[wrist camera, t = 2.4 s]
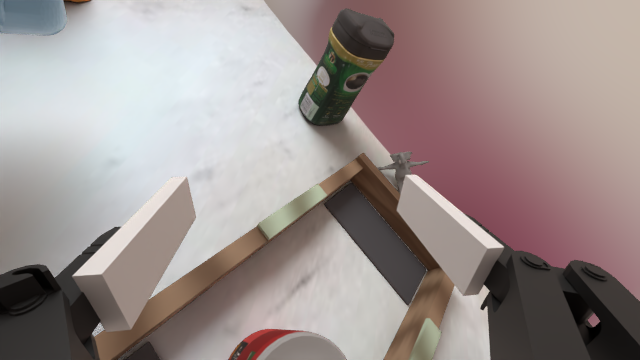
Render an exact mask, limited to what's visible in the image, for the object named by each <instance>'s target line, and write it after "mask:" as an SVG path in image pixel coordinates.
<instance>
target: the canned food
mask: <svg viewBox="0 0 640 360" xmlns="http://www.w3.org/2000/svg"><path fill="white" fill-rule="evenodd" d="M228 360H347V359H346V357H345V355H344V354H343V353H342V352H341V350H340V349H339V348H338V347H337V346H336V345H335V344H334V343H333V342H331V341H330V340H329V339H327V338H325V337H323V336H321V335H319V334H316V333H312V332H306V331H296V330H279V329H265V330H260V331H258V332H255V333H253V334H251V335H250V336H248V337H247V338H245V339H244V340H243V341H242V342H241V343H240V344H239V345H238V346H237V347H236V348H235V350H234V351H233V353H232V354H231V356H230V358H229V359H228Z"/></svg>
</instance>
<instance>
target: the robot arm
mask: <svg viewBox="0 0 640 360" xmlns="http://www.w3.org/2000/svg"><path fill="white" fill-rule="evenodd" d="M66 22H67V16H66V10H65V6H64V2H63V0H0V33H10V34H28V35H54V34H57V33H58V32H60V31H61V30H62V29H64V27H65V25H66ZM397 212H398V213H399V214H400V215H401V217H402V218H403V219H404V221H405V222H406V223H407V224H408V226H409V227H410V228H411V230H412V231H413V232H414V233H415V235H416V236H417V237H418V239H419V240H420V241H421V242H422V244H423V245H424V246H425V248H426V249H427V250H428V251H429V253H430V254H431V255H432V257H433V258H434V259H435V260H436V262H437V263H438V264H439V265H440V267H441V268H442V269H443V271H444V272H445V273H446V274H447V276H448V277H449V278H450V280H451V281H452V282H453V283H454V285H455V286H456V287H457V289H458V290H459V291H460V292H461V294H462V295H463V296H466V295H476V294H479V292H480V290H481V289H482V287H483V285H485V286H486V287H487V288H488V289H489V290H490V292H489V293H488V295H487V297H486V298H485V300H484V302H483V304H482V305H481V308H480V309H482V310H484V308H485V307H486V306H488V323H489V340H490V357H491V360H640V301H639V300H638V299H636V298H635V297H634V296H633V295H632V294H631V293H630V292H629V291H628V290H627V289H626V288H625V287H624V286H623V285H622V284H621V283H620V282H619V281H618V280H617V279H616V278H614V277H613V276H612V275H610V274H609V273H608V272H606V271H604V270H603V269H601V268H600V267H598V266H595V265H593V264H591V263H587V262H583V261H578V260H574V261H571V262H570V263H569V264H568V266H567V267H566V268H565V269H563V268H557V267H552V266H550V265H549V264H548V263H547V262H546V261H544V260H543V259H541V258H539V257H537V256H536V255H533V254H531V253H528V252H524V251H514V250H513V249H511V248H510V247H509V246H508V245H506V244H505V243H504V242H503V241H501V240H500V239H499V238H498V237H496V236H495V235H494V234H493V233H491V232H489V230H488V229H486V228H485V227H484V226H482V225H481V224H480V223H479V222H478V221H476V220H475V219H474V218H472V217H470V216H468V215H466V214H464V213H462V212H461V211H460V210H459V209H457V208H456V207H455V206H454V205H452V204H451V203H450V202H449V201H447V200H446V199H445V198H444V197H443V196H442V195H440V194H439V193H438V192H437V191H435V190H434V189H433V188H432V187H431V186H429V185H428V184H427V183H426V182H424V181H423V180H422V179H421V178H420V177H418V176H417V175H405V179H404V183H403V187H402V191H401V195H400V199H399V203H398V207H397ZM195 218H196V215H195V210H194V206H193V201H192V197H191V193H190V188H189V184H188V179H187V177H171V178H170V179H169V180H168V181H167V182H166V183H165V184H164V185H163V186H162V187H161V188H160V189H159V190H158V191H157V192H156V193H155V194H154V195H153V196H152V197H151V198H150V199H149V200H148V201H147V202H146V203H145V204H144V205H143V206H142V207H141V208H140V209H139V210H138V211H137V212H136V213H135V214H134V215H133V216H132V217H131V218H130V219H129V220H128V221H127V222H126V223H125V224H124V225H123V226H122V227H114V228H113V229H111V230H109V231H107V232H106V233H104V234H102V235H101V236H100V237H99V238H97V239H96V240H95V241H94V242H93V243H92V244H91V246H90V247H88V248H87V249H86V250H85V251H83V252H82V255H79V256H78V257H77V258H76V259H75V260H74V261H73V262H72V263H70V264H69V265H68V266H67V267H66V268H65V269H64V270H63V271H62V272H61V273H60V274H59V275H58V276H56V277H55V278H54V277H53V275H52V274H51V272H50V271H49V269H48V268H47V267H46V266H44V265H38V264H37V265H29V266H24V267H21V268H17V269H14V270H11V271H9V272H7V273H4V274H2V275H0V360H100V358H99V353H98V349H97V345H96V340H95V338H94V337H93V335H92V332H93V331H94V329H95V328H96V327H97V325H98V324H99V323H101V324H102V326H103V327H104V329H105V331H106V332H113V331H122V330H131V329H132V327H133V325H134V324H135V322H136V320H137V319H138V317H139V315H140V313H141V312H142V310H143V308H144V306H145V305H146V303H147V301H148V300H149V298H150V296H151V294H152V293H153V291H154V289H155V287H156V286H157V284H158V282H159V281H160V279H161V277H162V275H163V274H164V272H165V270H166V268H167V267H168V265H169V263H170V262H171V260H172V258H173V256H174V255H175V253H176V251H177V249H178V248H179V246H180V244H181V243H182V241H183V239H184V237H185V236H186V234H187V232H188V231H189V229H190V227H191V225H192V224H193V222H194V220H195ZM593 313H595V314H596V316H597V317H598V318H599V320H600V322H599V323H598V324H597V325H596V326H595V327H592V326H591V325H590V323H589V322H588V319H589V318H590V317H591V316H592V315H593Z"/></svg>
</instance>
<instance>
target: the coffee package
mask: <svg viewBox="0 0 640 360" xmlns="http://www.w3.org/2000/svg"><path fill="white" fill-rule="evenodd" d="M63 1H65V0H63ZM68 1H72V2H81V1H90V0H68Z"/></svg>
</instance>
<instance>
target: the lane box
mask: <svg viewBox="0 0 640 360" xmlns="http://www.w3.org/2000/svg"><path fill="white" fill-rule="evenodd" d="M350 180H351V181H352V182H353V183H354V185H355V186H356V187H357V188H358V189H359V190H360V192H361V193H362V194H363V195H364V196H365V197H366V199H367V200H368V201H369V202H370V203H371V204H372V205H373V207H374V208H375V209H376V210H377V211H378V212H379V214H380V215H381V216H382V217H383V218H384V219H385V221H386V222H387V223H388V224H389V225H390V226H391V228H392V229H393V230H394V231H395V232H396V233H397V235H398V236H399V237H400V238H401V239H402V240H403V242H404V243H405V244H406V245H407V246H408V247H409V248H410V250H411V251H412V252H413V253H414V254H415V255H416V257H417V258H418V259H419V260H420V261H421V262H422V264H423V265H424V266H425V267H426V268H427V269H428V272H427V274H426V276H425V278H424V280H423V282H422V284H421V286H420V288H419V290H418V292H417V294H416V296H415V298H414V300H413V302H412V304H411V306H410V308H409V310H408V312H407V314H406V316H405V318H404V320H403V322H402V324H401V326H400V328H399V330H398V332H397V334H396V336H395V338H394V340H393V342H392V344H391V346H390V348H389V350H388V352H387V354H386V356H385V358H384V360H432V358H433V355H434V352H435V350H436V347H437V344H438V341H439V338H440V335H441V333H442V332H441V331H440V330H439V326H440V323H441V321H442V318H443V315H444V312H445V310H446V307H447V304H448V302H449V299H450V296H451V293H452V291H453V288H454V283H453V282H452V281H451V280H450V278H449V277H448V276H447V274H446V273H445V272H444V271H443V269H442V268H441V267H440V265H439V264H438V263H437V262H436V260H435V259H434V258H433V257H432V255H431V254H430V253H429V251H428V250H427V249H426V248H425V246H424V245H423V244H422V242H421V241H420V240H419V239H418V237H417V236H416V235H415V233H414V232H413V231H412V230H411V228H410V227H409V226H408V224H407V223H406V222H405V221H404V219H403V218H402V217H401V215H400V214H399V213H398V212H397V207H398V203H399V199H400V195H401V194H400V193H399V192H398V191H397V190H396V189H395V188H394V187H393V185H392V184H391V183H390V182H389V181H388V180H387V179H386V178H385V176H384V175H383V174H382V173H381V172H380V171H379V170H378V169H377V167H376V166H375V165H374V164H373V163H372V162H371V161H370V160H369V158H368V157H367V156H366V155H365V154H364V153H362V154H361V155H359V156H358V157H357V158H356V159H355V160H354V161H352V162H351V163H349V164H348V165H346V166H345V167H343V168H342V169H340V170H339V171H337V172H336V173H334V174H333V175H331V176H330V177H329V178H327V179H326V180H324V181H323V182H321V183H320V184H316V185H315V186H313V187H312V188H310V189H309V190H308V191H306V192H305V193H303V194H302V195H300V196H299V197H297V198H296V199H294V200H293V201H291V202H290V203H288V204H287V205H285V206H284V207H282V208H281V209H279V210H278V211H276V212H275V213H273V214H272V215H271V216H269V217H268V218H266V219H265V220H263V221H262V222H260V223H259V224H258V225H257V227H255V228H254V229H252V230H251V231H249V232H248V233H246V234H245V235H243V236H242V237H240V238H239V239H237V240H236V241H235V242H233V243H232V244H230V245H229V246H227V247H226V248H224V249H223V250H221V251H220V252H218V253H217V254H215V255H214V256H212V257H211V258H210V259H208V260H207V261H205V262H204V263H202V264H201V265H199V266H198V267H196V268H195V269H193V270H192V271H190V272H189V273H188V274H186V275H185V276H183V277H182V278H180V279H179V280H177V281H176V282H174V283H173V284H171V285H170V286H168V287H167V288H165V289H164V290H163V291H161V292H160V293H158V294H157V295H155V296H154V297H152V298H151V299H149V300H148V301H147V303H146V305H145V306H144V308H143V310H142V312H141V313H140V315H139V317H138V319H137V320H136V322H135V324H134V325H133V327H132V329H131V330H122V331H113V332H106V331H105V330H104V331H102V332H101V333H99V334H98V335H96V336H95V337H94V338H95V340H96V345H97V349H98V353H99V358H100V360H117V359H118V358H119V357H121V356H122V355H123V354H125V353H126V352H127V351H129V350H130V349H131V348H132V347H134V346H135V345H136V344H138V343H139V342H140V341H142V340H143V339H144V338H145V337H147V336H148V335H149V334H151V333H152V332H153V331H155V330H156V329H157V328H158V327H160V326H161V325H162V324H164V323H165V322H166V321H168V320H169V319H170V318H171V317H173V316H174V315H175V314H177V313H178V312H179V311H181V310H182V309H183V308H184V307H186V306H187V305H188V304H190V303H191V302H192V301H194V300H195V299H196V298H198V297H199V296H200V295H201V294H203V293H204V292H205V291H207V290H208V289H209V288H211V287H212V286H213V285H214V284H216V283H217V282H218V281H220V280H221V279H222V278H224V277H225V276H226V275H227V274H229V273H230V272H231V271H233V270H234V269H235V268H237V267H238V266H239V265H240V264H242V263H243V262H244V261H246V260H247V259H248V258H250V257H251V256H252V255H253V254H255V253H256V252H257V251H259V250H260V249H261V248H263V247H264V246H265V245H267V244H268V243H269V242H270V241H272V240H273V239H274V238H276V237H277V236H278V235H280V234H281V233H282V232H283V231H285V230H286V229H287V228H289V227H290V226H291V225H293V224H294V223H295V222H296V221H298V220H299V219H300V218H302V217H303V216H304V215H306V214H307V213H308V212H309V211H311V210H312V209H313V208H315V207H316V206H317V205H319V204H320V203H321V202H322V201H324V200H325V199H326V198H328V197H329V196H330V195H332V194H333V193H334V192H336V191H337V190H338V189H339V188H341V187H342V186H343V185H345V184H346V183H347V182H349V181H350Z"/></svg>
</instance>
